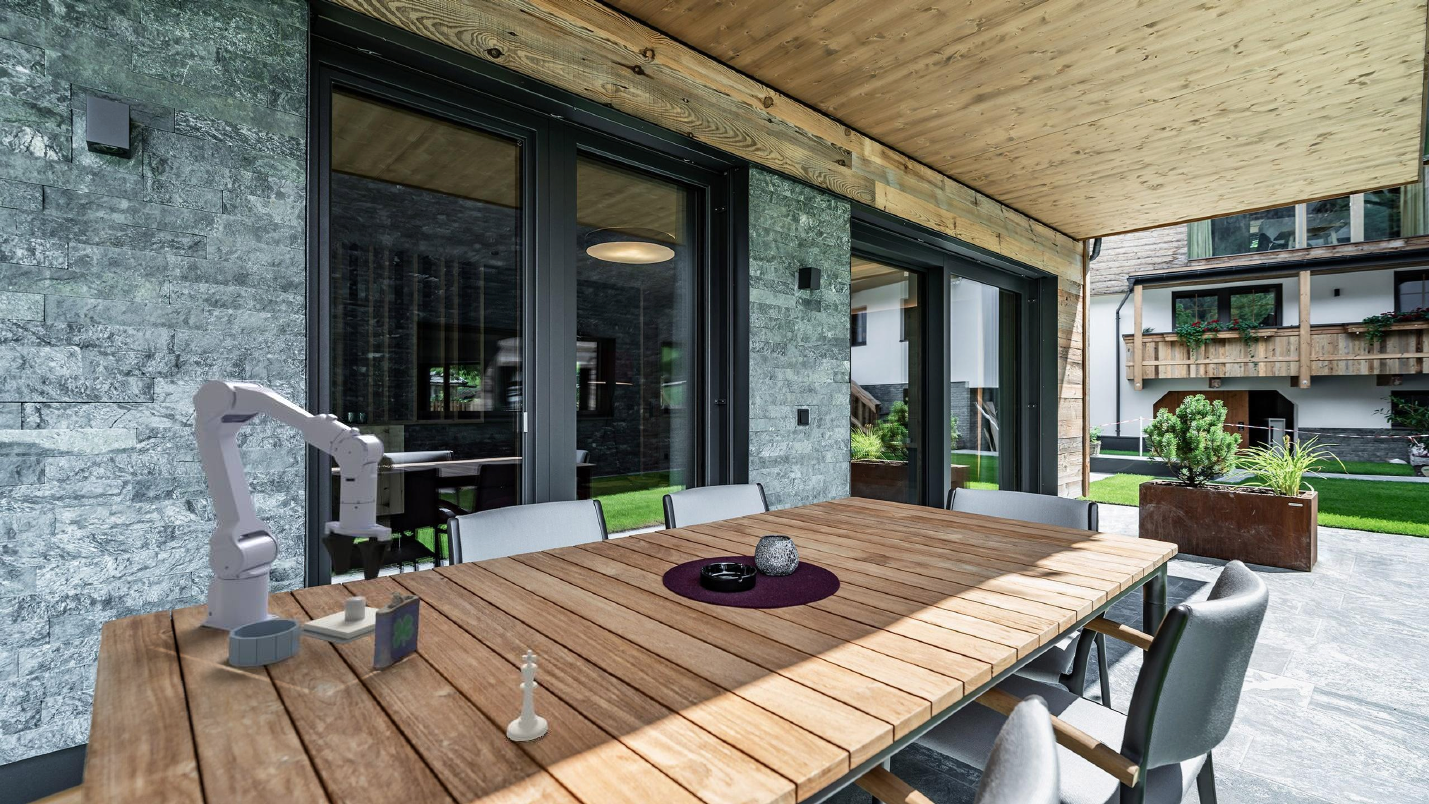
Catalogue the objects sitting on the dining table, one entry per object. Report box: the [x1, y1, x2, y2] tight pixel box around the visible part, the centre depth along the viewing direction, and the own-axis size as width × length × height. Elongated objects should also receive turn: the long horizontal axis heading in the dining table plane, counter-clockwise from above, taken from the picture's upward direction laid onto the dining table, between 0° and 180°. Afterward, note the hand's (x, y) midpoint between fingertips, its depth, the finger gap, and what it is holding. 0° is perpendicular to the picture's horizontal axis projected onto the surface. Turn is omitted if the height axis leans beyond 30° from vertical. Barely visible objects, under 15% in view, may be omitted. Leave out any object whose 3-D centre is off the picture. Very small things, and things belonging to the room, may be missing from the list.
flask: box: [373, 590, 421, 672], centre depth 98 cm, size 9×3×11 cm, turn 172°
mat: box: [300, 625, 375, 646], centre depth 112 cm, size 14×15×1 cm
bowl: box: [228, 618, 301, 668], centre depth 97 cm, size 9×9×4 cm
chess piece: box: [506, 649, 549, 742], centre depth 77 cm, size 5×5×10 cm
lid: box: [303, 596, 380, 639], centre depth 112 cm, size 11×11×4 cm
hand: (356, 576), depth 112 cm, fingers open, 7 cm apart
